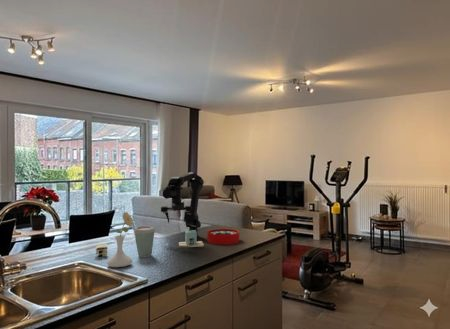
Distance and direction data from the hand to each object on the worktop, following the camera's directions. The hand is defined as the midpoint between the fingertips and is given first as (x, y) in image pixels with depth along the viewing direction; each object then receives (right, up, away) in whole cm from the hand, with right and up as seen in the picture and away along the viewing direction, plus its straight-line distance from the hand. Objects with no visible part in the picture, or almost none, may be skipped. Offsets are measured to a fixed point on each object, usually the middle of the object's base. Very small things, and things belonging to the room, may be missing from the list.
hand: (176, 222), depth 208 cm
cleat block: (+10, -11, -7) cm, 16 cm away
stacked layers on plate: (-35, -12, -31) cm, 48 cm away
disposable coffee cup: (-12, -12, -32) cm, 36 cm away
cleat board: (+10, -12, -7) cm, 17 cm away
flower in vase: (-19, -12, -49) cm, 54 cm away
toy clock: (+29, -12, +4) cm, 32 cm away
